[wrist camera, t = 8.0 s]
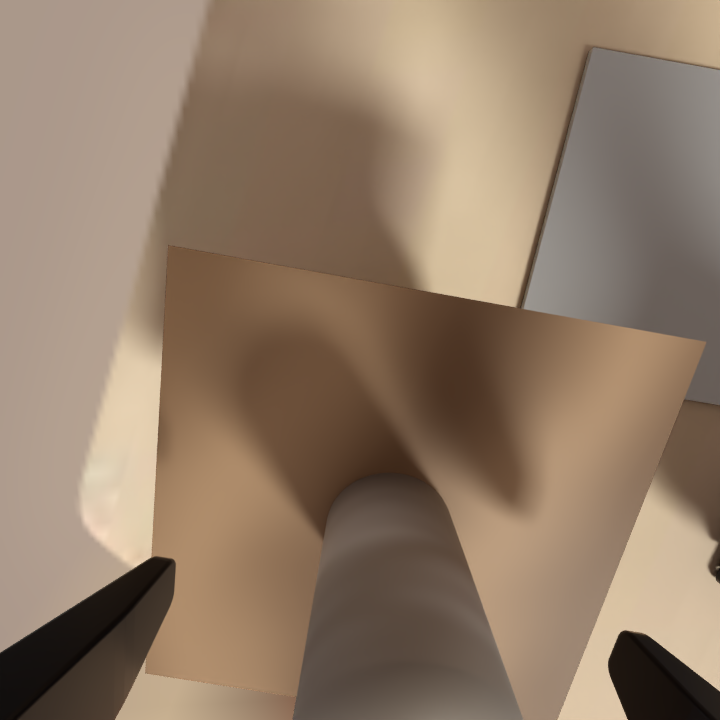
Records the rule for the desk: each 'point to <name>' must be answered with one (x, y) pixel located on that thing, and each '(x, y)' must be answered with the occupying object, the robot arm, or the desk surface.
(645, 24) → the desk surface
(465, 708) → the lid
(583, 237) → the tray
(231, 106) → the desk surface
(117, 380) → the desk surface
